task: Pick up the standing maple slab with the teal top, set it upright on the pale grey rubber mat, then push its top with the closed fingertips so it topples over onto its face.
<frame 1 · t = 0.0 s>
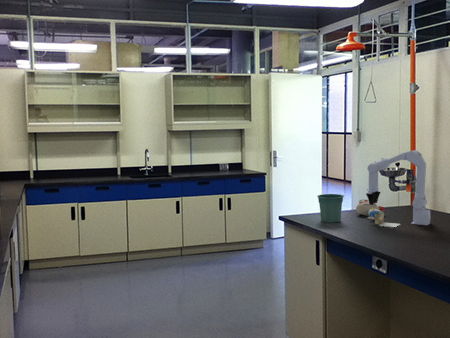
hand: (373, 203, 318), 10 cm above the table, tool pointing down, fingers open, 7 cm apart
flower pot: (330, 221, 318), on the table
toy: (371, 217, 328), on the table
slab: (379, 223, 307), on the table
mat: (389, 225, 301), on the table
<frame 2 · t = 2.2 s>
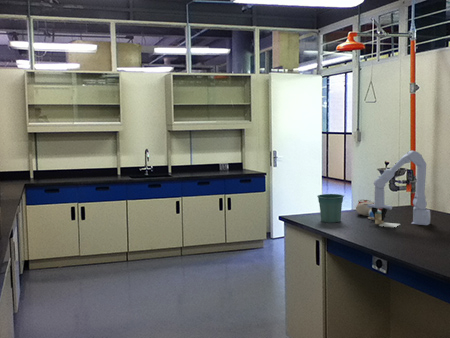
hand: (379, 220, 307), 2 cm above the table, tool pointing down, fingers closed on slab, 3 cm apart
slab: (379, 223, 307), on the table, touching gripper
everything else where it was.
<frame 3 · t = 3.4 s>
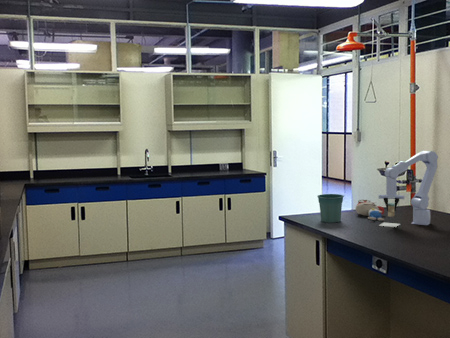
hand: (391, 210, 299), 9 cm above the table, tool pointing down, fingers closed on slab, 3 cm apart
slab: (391, 215, 299), point 6 cm above the table, touching gripper
everything else where it was.
when the fingers open (3 cm above the table, at t = 4.7 s): slab stays where it is, resting on mat.
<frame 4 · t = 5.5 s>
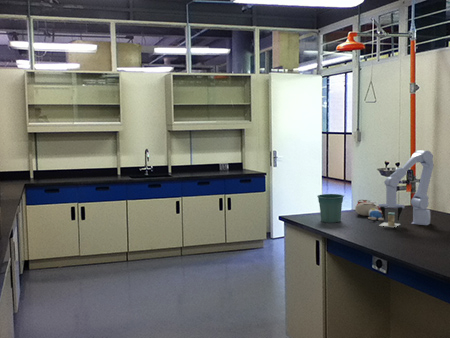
hand: (391, 219, 300), 3 cm above the table, tool pointing down, fingers open, 7 cm apart
slab: (391, 224, 300), resting on mat
everything else where it was.
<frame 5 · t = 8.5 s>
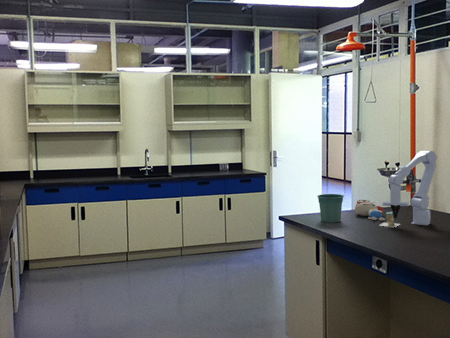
hand: (395, 217, 298), 5 cm above the table, tool pointing down, fingers closed
slab: (391, 224, 300), point 1 cm above the table, tilted 10°, touching mat
everything else where it was.
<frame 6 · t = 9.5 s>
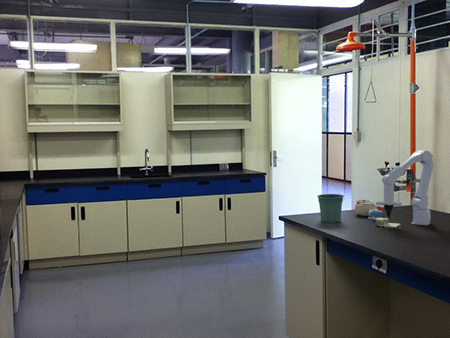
hand: (388, 217, 300), 5 cm above the table, tool pointing down, fingers closed
slab: (388, 221, 300), point 2 cm above the table, tilted 90°, touching mat
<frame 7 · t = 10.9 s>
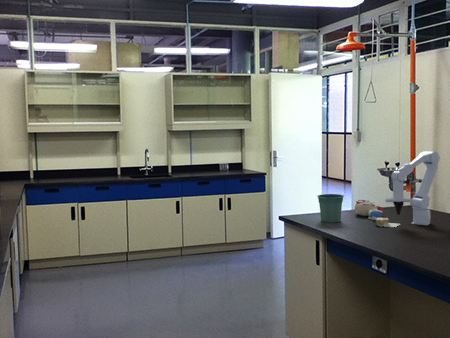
hand: (398, 214, 297), 7 cm above the table, tool pointing down, fingers closed
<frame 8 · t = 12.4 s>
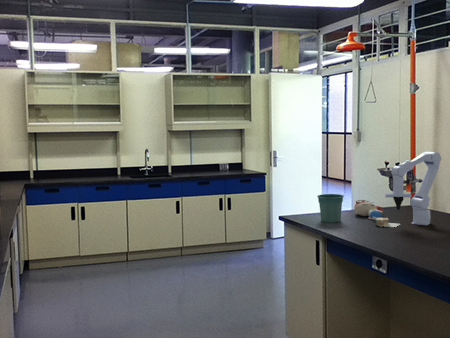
hand: (398, 209, 297), 10 cm above the table, tool pointing down, fingers closed
at the end: slab tilted 90°; slab 1.0 cm from the mat (horizontally); the gripper is holding nothing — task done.
